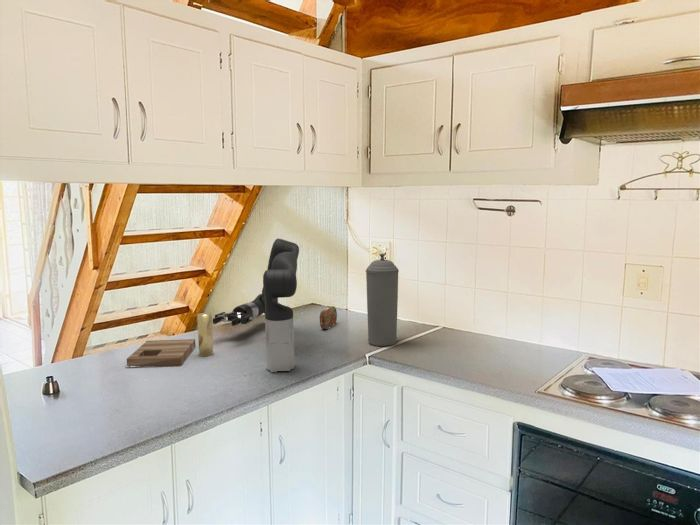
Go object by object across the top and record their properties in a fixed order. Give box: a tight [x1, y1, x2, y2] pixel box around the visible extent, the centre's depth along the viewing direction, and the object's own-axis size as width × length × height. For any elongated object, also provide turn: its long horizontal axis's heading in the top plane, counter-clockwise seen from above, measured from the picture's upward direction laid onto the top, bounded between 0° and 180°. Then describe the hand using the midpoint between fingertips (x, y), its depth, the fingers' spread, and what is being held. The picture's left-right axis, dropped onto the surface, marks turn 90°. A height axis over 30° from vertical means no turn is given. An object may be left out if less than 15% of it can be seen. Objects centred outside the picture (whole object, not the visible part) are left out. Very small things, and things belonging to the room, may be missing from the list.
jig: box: [126, 338, 197, 367], centre depth 183 cm, size 22×18×3 cm
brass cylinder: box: [196, 312, 214, 357], centre depth 185 cm, size 5×5×15 cm
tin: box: [319, 306, 338, 330], centre depth 222 cm, size 15×3×8 cm, turn 161°
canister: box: [365, 253, 400, 347], centre depth 196 cm, size 13×13×35 cm
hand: (222, 322), depth 195 cm, fingers open, 8 cm apart
